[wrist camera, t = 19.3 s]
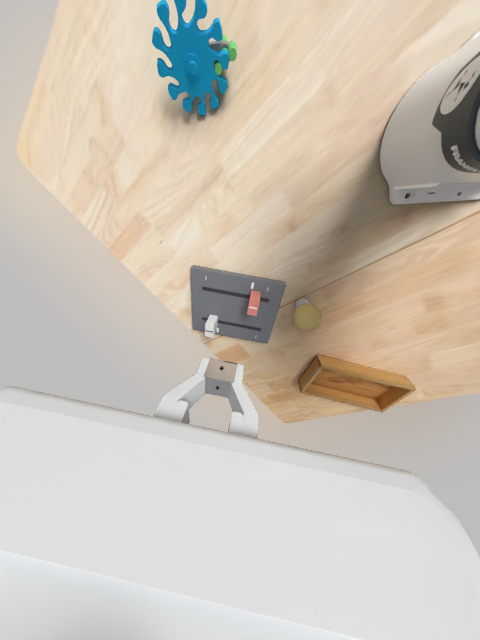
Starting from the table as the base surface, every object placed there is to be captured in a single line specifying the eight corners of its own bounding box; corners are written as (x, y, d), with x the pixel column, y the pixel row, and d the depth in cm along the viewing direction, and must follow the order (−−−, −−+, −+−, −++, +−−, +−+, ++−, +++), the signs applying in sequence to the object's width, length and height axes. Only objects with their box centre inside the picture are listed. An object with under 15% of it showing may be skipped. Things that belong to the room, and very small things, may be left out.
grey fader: (218, 316, 49) (213, 326, 45) (217, 327, 52) (213, 338, 48) (210, 314, 49) (205, 324, 45) (209, 326, 52) (204, 336, 48)
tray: (405, 375, 56) (418, 390, 52) (374, 398, 65) (382, 413, 60) (316, 352, 56) (321, 366, 51) (297, 378, 65) (300, 392, 60)
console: (285, 282, 43) (285, 285, 41) (267, 339, 55) (267, 343, 53) (193, 265, 44) (190, 267, 42) (195, 325, 56) (192, 329, 54)
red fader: (260, 291, 43) (259, 300, 39) (257, 306, 46) (256, 316, 42) (251, 290, 43) (249, 299, 39) (248, 304, 46) (246, 314, 42)
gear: (173, 121, 28) (133, -1, 18) (173, 95, 29) (136, -33, 20) (239, 114, 28) (234, -15, 18) (237, 88, 29) (231, -47, 19)
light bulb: (314, 311, 47) (324, 334, 39) (290, 314, 48) (295, 337, 40) (313, 290, 43) (324, 310, 35) (288, 294, 45) (292, 315, 37)
